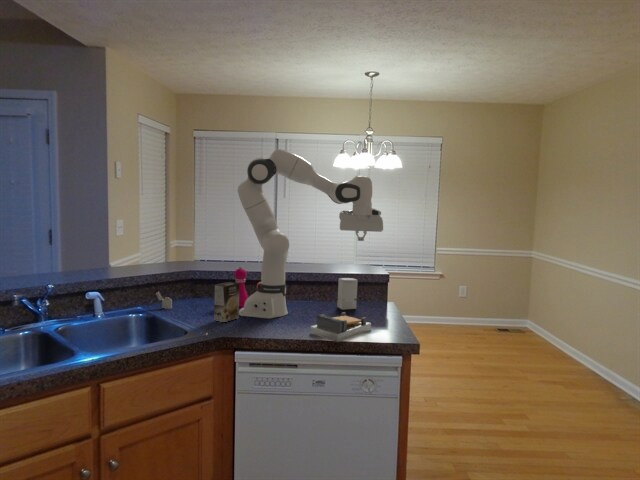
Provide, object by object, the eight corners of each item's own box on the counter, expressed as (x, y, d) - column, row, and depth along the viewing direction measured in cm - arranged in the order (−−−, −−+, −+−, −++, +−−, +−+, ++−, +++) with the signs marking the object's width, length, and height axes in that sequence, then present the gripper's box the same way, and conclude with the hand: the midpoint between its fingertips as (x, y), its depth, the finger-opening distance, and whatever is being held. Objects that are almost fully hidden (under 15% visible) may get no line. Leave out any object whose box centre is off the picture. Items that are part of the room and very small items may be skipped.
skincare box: (341, 310, 215) (342, 280, 213) (336, 307, 220) (337, 277, 219) (357, 308, 218) (358, 279, 216) (351, 306, 223) (352, 277, 222)
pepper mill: (235, 308, 212) (235, 267, 210) (230, 304, 219) (231, 265, 217) (249, 306, 216) (250, 266, 214) (244, 303, 222) (245, 264, 220)
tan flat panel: (345, 317, 188) (345, 315, 188) (362, 322, 182) (363, 319, 182) (323, 321, 177) (323, 318, 177) (340, 325, 171) (341, 323, 171)
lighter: (172, 308, 209) (171, 291, 208) (171, 308, 207) (171, 292, 206) (156, 307, 208) (156, 291, 207) (155, 308, 206) (155, 292, 206)
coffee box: (224, 323, 186) (225, 286, 184) (213, 321, 189) (214, 284, 187) (239, 319, 194) (239, 283, 192) (228, 316, 197) (228, 281, 195)
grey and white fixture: (344, 323, 192) (345, 307, 191) (370, 330, 183) (371, 313, 182) (310, 333, 176) (310, 316, 175) (337, 342, 166) (338, 323, 166)
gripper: (339, 210, 200) (338, 240, 202) (384, 212, 199) (383, 242, 201) (339, 210, 207) (338, 239, 208) (383, 211, 206) (381, 240, 207)
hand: (360, 240), depth 204 cm, fingers closed
